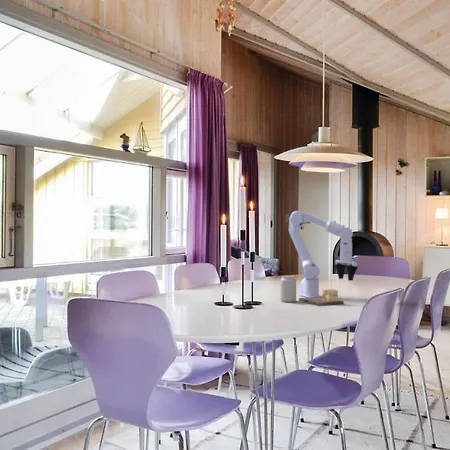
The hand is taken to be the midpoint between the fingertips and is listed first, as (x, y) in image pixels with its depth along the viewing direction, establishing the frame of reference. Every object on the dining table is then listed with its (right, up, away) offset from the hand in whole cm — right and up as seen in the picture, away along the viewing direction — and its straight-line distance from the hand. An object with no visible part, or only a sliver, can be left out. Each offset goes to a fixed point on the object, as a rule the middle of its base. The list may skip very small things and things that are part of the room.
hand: (345, 279), depth 245 cm
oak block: (-11, -8, -15) cm, 20 cm away
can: (-30, -9, -10) cm, 33 cm away
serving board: (-15, -9, -12) cm, 21 cm away
